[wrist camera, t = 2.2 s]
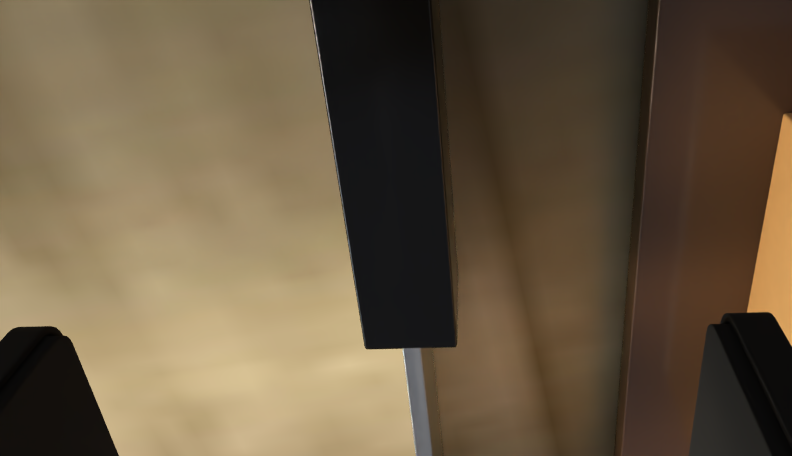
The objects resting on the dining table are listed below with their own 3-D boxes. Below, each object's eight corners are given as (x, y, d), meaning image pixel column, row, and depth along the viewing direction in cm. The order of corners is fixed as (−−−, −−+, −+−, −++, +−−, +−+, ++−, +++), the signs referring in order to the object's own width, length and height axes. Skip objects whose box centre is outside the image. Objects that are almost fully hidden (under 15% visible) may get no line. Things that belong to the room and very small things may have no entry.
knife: (326, -83, 16) (299, -58, 14) (432, -94, 16) (426, -70, 13) (417, 569, 29) (413, 651, 26) (479, 569, 28) (480, 653, 26)
